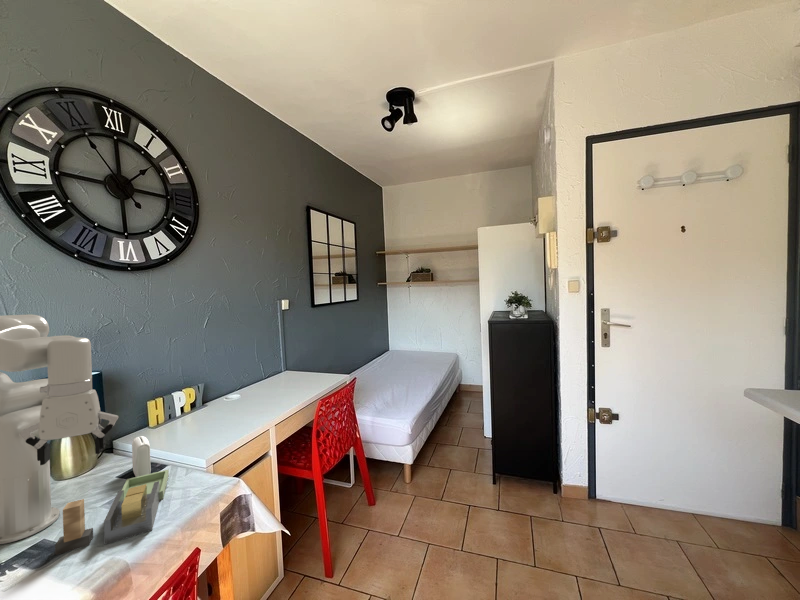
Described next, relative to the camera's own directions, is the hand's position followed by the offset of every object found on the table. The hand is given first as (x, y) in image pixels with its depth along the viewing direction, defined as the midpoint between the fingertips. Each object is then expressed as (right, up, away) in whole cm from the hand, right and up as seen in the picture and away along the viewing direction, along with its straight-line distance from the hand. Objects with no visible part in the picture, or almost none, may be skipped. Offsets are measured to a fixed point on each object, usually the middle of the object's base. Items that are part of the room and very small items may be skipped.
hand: (73, 456), depth 79 cm
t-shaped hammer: (0, -22, 0) cm, 22 cm away
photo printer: (-10, -22, +33) cm, 41 cm away
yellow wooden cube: (+9, -19, +7) cm, 22 cm away
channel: (+8, -22, +9) cm, 25 cm away
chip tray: (0, -22, +21) cm, 31 cm away
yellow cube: (+6, -19, +11) cm, 23 cm away
